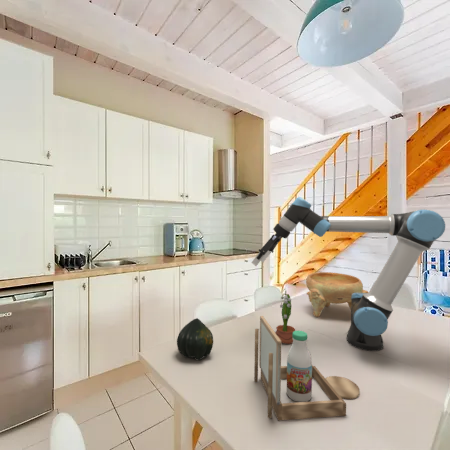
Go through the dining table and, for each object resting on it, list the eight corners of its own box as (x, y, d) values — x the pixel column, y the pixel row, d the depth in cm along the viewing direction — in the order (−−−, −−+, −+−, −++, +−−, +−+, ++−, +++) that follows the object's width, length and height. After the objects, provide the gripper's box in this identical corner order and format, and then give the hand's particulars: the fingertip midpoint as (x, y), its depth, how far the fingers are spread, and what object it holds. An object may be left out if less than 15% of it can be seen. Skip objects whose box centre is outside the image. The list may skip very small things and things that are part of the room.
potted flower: (297, 348, 117) (298, 291, 117) (274, 346, 119) (275, 290, 119) (295, 337, 128) (296, 285, 128) (274, 335, 130) (275, 284, 130)
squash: (188, 356, 97) (207, 318, 105) (164, 345, 108) (183, 311, 115) (209, 371, 105) (225, 335, 113) (185, 359, 115) (202, 326, 123)
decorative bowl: (290, 306, 176) (291, 272, 176) (335, 303, 185) (336, 270, 185) (322, 326, 143) (323, 283, 143) (375, 320, 152) (375, 280, 152)
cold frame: (314, 375, 96) (314, 363, 96) (346, 415, 76) (346, 399, 76) (260, 378, 94) (260, 365, 94) (278, 420, 74) (278, 404, 74)
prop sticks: (257, 380, 93) (258, 328, 92) (272, 418, 74) (273, 354, 74) (253, 380, 92) (254, 328, 92) (268, 418, 74) (269, 354, 74)
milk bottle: (283, 388, 88) (284, 328, 88) (305, 387, 89) (306, 327, 89) (291, 403, 81) (292, 338, 80) (315, 402, 81) (316, 337, 81)
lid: (262, 366, 94) (262, 316, 94) (280, 404, 74) (281, 341, 74) (259, 366, 93) (260, 316, 93) (276, 405, 74) (277, 341, 74)
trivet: (347, 378, 95) (347, 375, 95) (367, 398, 84) (367, 395, 84) (317, 379, 93) (317, 376, 93) (334, 400, 82) (334, 397, 82)
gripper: (282, 222, 136) (258, 254, 141) (272, 222, 113) (243, 260, 118) (294, 231, 134) (269, 263, 139) (286, 233, 111) (256, 271, 115)
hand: (257, 262), depth 128 cm, fingers open, 13 cm apart
